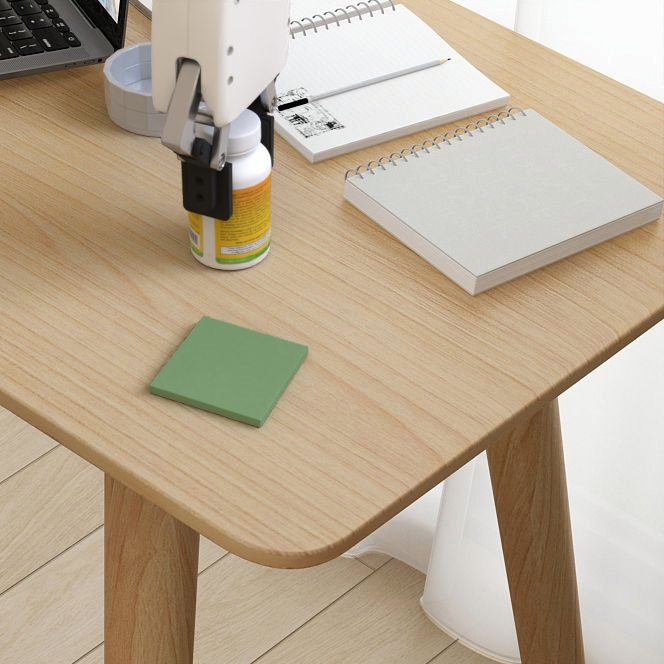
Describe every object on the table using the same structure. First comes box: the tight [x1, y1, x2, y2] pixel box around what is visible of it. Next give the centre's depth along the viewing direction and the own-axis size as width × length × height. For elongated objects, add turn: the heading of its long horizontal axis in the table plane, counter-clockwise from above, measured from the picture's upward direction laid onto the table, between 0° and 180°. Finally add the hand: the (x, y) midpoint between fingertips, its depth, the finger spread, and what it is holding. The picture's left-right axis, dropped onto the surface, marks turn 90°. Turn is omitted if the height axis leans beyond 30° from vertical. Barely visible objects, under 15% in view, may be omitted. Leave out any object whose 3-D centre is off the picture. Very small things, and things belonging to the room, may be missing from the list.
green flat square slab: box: [148, 315, 309, 428], centre depth 70 cm, size 7×7×1 cm
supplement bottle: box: [187, 109, 272, 271], centre depth 77 cm, size 5×5×10 cm
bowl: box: [102, 40, 208, 138], centre depth 93 cm, size 9×9×4 cm
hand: (229, 186), depth 77 cm, fingers closed on supplement bottle, 5 cm apart
